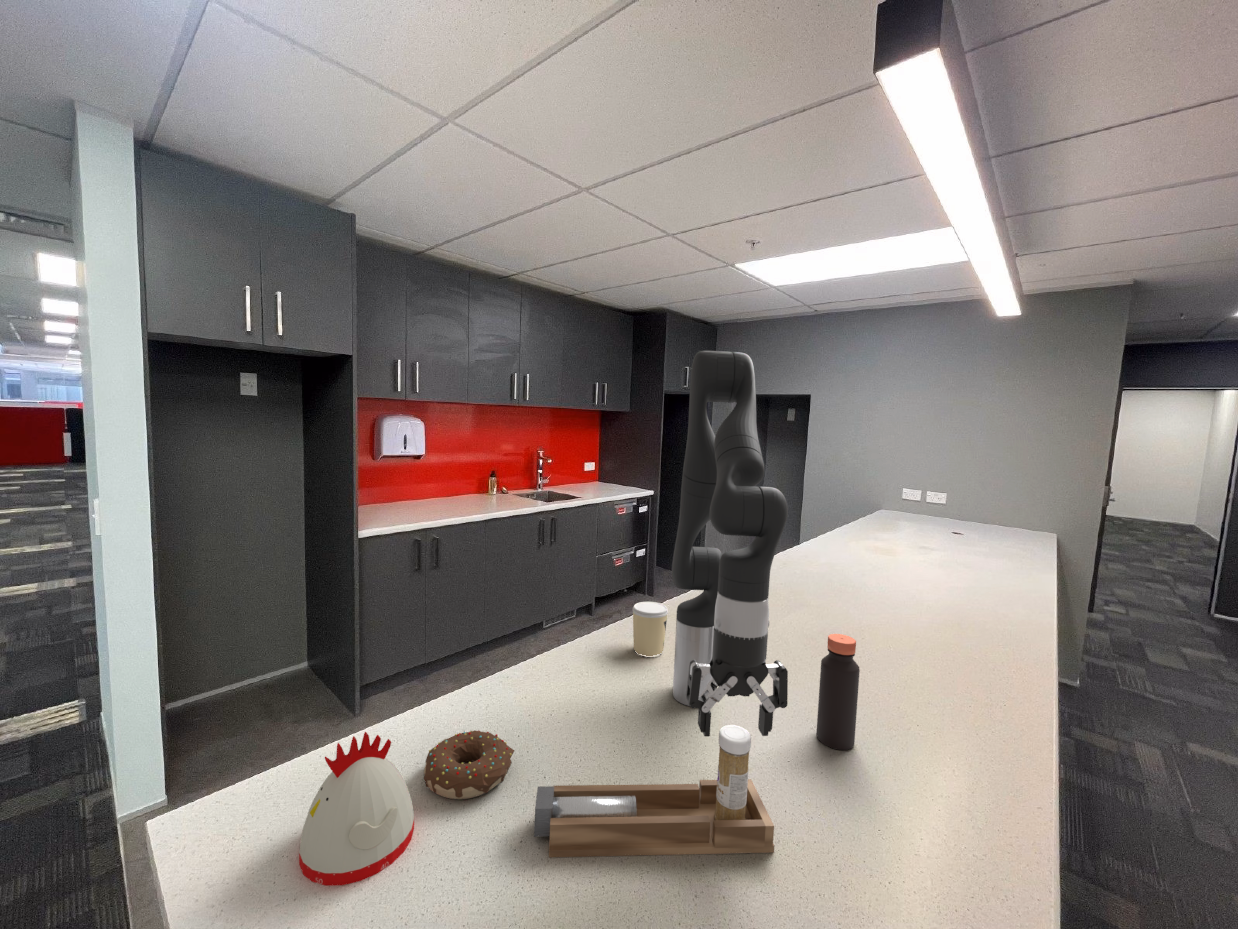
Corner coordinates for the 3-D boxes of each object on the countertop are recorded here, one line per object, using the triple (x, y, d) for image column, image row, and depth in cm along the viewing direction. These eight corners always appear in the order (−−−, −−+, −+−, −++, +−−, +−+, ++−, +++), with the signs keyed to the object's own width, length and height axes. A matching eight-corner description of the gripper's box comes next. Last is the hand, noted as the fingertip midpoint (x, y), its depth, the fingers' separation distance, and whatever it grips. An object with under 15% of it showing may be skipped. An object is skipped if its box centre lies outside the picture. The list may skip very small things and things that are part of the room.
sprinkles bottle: (710, 810, 76) (715, 723, 75) (739, 808, 76) (744, 723, 76) (719, 834, 71) (724, 742, 71) (750, 832, 72) (756, 741, 71)
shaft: (536, 812, 74) (537, 786, 74) (633, 811, 75) (634, 785, 75) (534, 836, 70) (534, 809, 69) (636, 834, 71) (637, 807, 70)
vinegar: (808, 733, 99) (814, 633, 98) (835, 727, 101) (842, 630, 100) (834, 754, 92) (841, 647, 91) (862, 747, 95) (870, 643, 94)
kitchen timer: (288, 837, 69) (288, 731, 68) (391, 790, 79) (393, 697, 78) (316, 908, 59) (317, 785, 58) (430, 844, 69) (432, 738, 68)
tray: (552, 806, 77) (553, 781, 76) (751, 804, 79) (753, 779, 79) (548, 858, 67) (549, 830, 67) (774, 853, 70) (776, 826, 69)
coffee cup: (672, 656, 131) (674, 611, 130) (639, 661, 127) (641, 614, 127) (656, 642, 139) (658, 599, 139) (625, 646, 136) (627, 602, 135)
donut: (420, 815, 74) (420, 783, 74) (426, 757, 87) (427, 729, 87) (518, 799, 78) (519, 768, 78) (510, 746, 91) (511, 719, 91)
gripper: (779, 615, 76) (772, 718, 77) (686, 614, 75) (680, 718, 76) (800, 636, 69) (792, 749, 70) (697, 635, 68) (691, 750, 69)
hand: (734, 733), depth 73 cm, fingers open, 8 cm apart
